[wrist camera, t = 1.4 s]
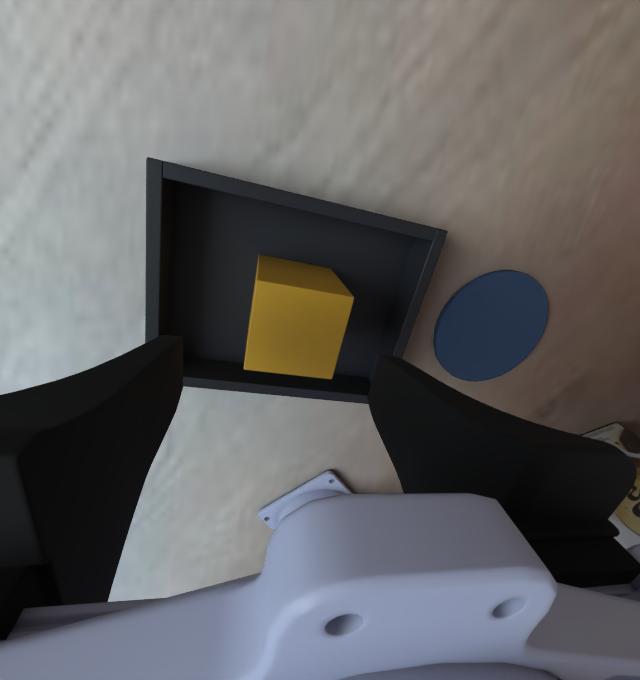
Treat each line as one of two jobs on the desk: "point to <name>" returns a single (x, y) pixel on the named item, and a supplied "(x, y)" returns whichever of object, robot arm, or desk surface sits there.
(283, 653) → the robot arm
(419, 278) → the tray
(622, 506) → the coffee box
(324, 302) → the block
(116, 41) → the desk surface
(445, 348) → the coaster
